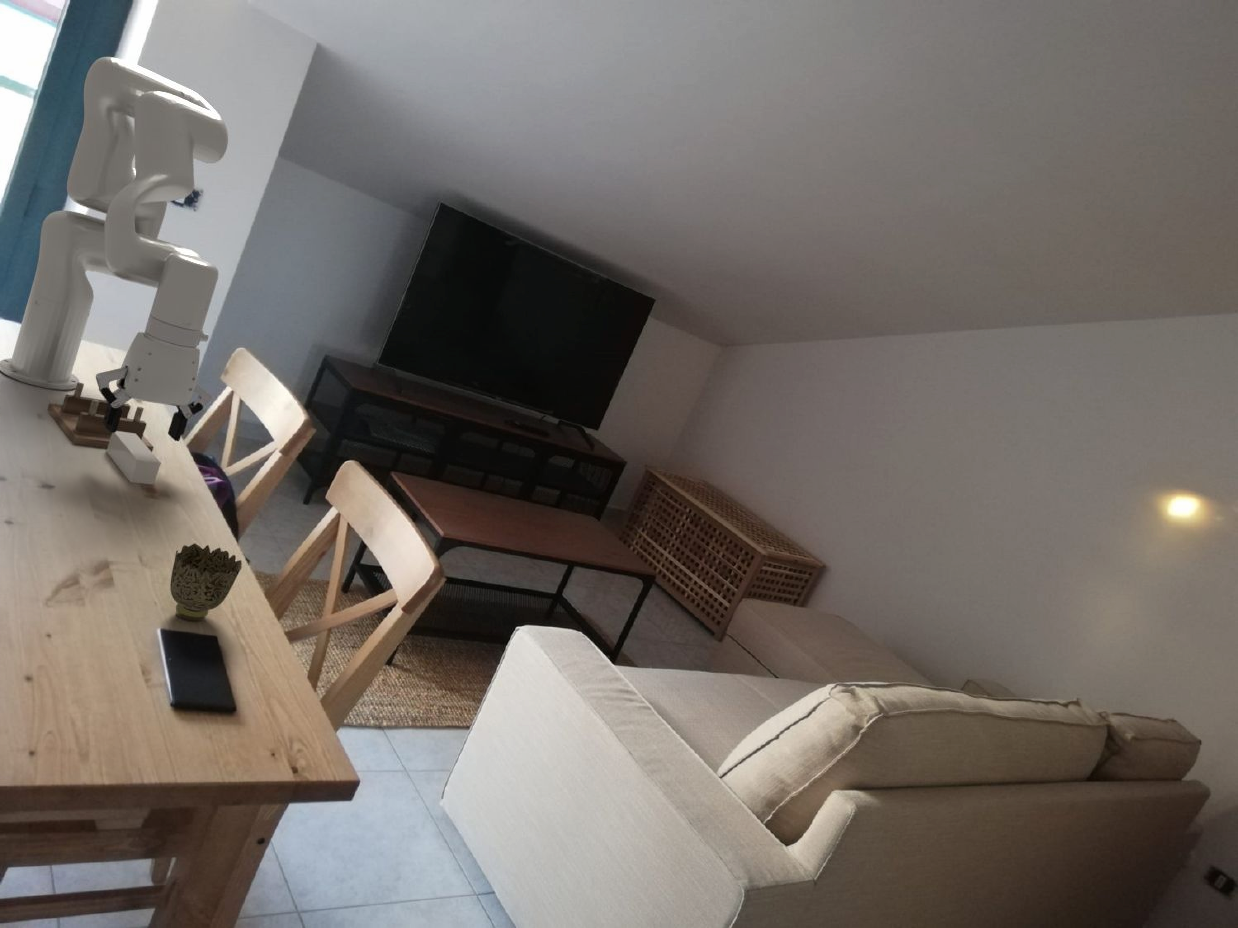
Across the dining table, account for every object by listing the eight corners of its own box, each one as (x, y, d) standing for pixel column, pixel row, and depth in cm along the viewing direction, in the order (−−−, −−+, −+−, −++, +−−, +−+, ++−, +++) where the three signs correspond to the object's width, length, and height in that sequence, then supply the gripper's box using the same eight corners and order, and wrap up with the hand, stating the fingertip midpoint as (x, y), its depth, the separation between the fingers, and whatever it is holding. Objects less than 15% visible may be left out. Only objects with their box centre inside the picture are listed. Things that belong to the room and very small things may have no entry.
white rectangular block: (106, 452, 141) (112, 430, 140) (128, 455, 144) (135, 433, 143) (129, 483, 134) (137, 460, 133) (153, 485, 136) (160, 462, 136)
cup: (178, 593, 108) (197, 537, 107) (233, 616, 108) (253, 560, 107) (143, 614, 101) (163, 553, 99) (202, 638, 101) (223, 578, 100)
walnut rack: (47, 409, 147) (58, 373, 146) (122, 420, 157) (132, 386, 156) (74, 444, 138) (85, 406, 137) (151, 453, 148) (163, 417, 147)
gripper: (217, 338, 143) (187, 432, 146) (105, 313, 130) (74, 417, 133) (236, 352, 139) (205, 449, 142) (122, 327, 125) (90, 435, 128)
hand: (142, 433), depth 137 cm, fingers open, 9 cm apart
